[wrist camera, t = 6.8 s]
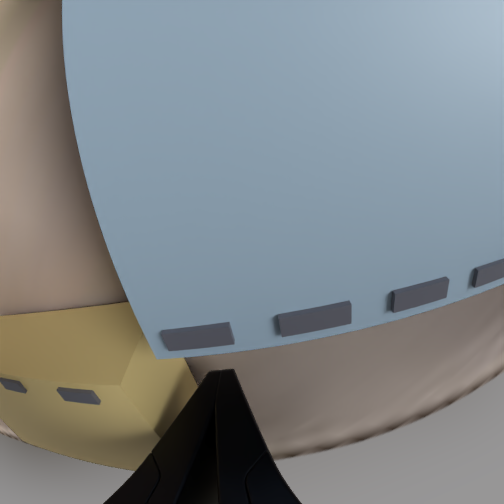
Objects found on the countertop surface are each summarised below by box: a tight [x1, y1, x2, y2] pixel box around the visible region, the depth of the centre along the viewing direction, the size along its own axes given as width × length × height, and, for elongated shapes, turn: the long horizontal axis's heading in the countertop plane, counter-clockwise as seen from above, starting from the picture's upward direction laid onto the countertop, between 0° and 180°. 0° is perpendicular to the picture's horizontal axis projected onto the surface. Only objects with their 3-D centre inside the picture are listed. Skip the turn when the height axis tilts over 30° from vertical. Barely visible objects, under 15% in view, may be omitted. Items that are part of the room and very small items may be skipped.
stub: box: [0, 302, 198, 471], centre depth 8 cm, size 9×5×4 cm, turn 101°
